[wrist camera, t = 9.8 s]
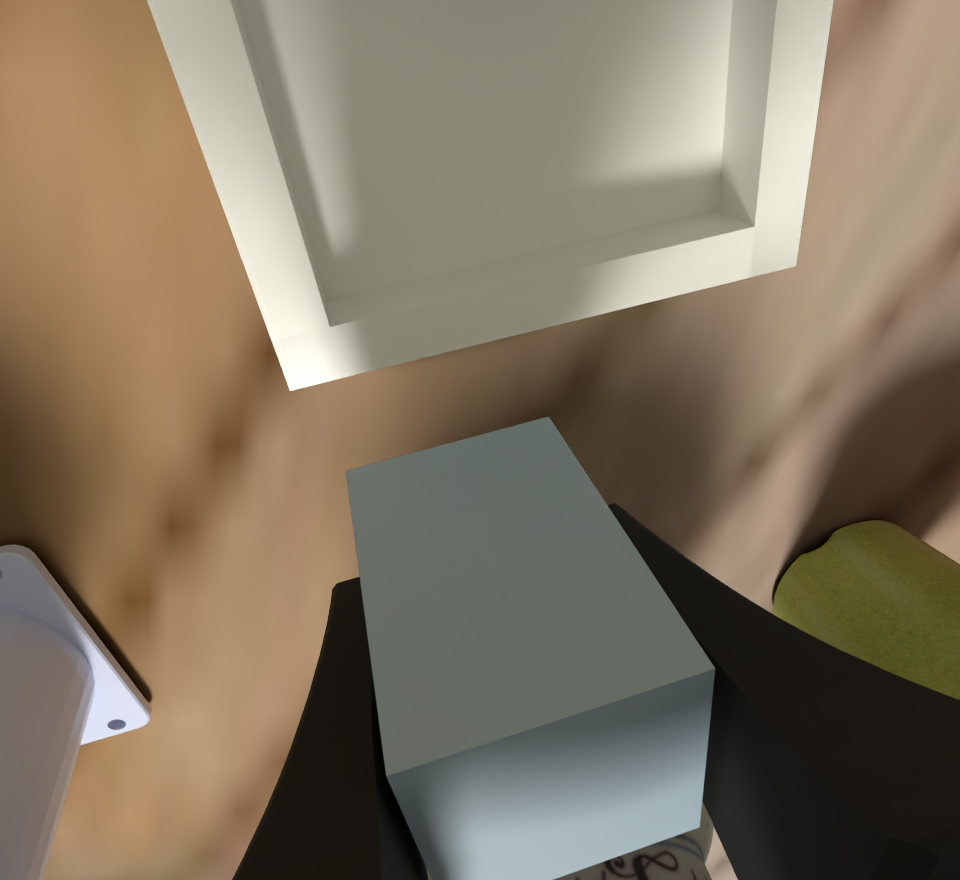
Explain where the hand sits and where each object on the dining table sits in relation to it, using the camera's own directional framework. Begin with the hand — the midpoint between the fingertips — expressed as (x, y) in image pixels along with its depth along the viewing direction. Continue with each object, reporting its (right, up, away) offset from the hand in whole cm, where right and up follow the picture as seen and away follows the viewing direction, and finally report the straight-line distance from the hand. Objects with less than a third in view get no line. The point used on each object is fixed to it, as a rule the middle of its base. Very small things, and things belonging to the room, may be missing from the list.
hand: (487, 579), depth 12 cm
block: (0, +1, +1) cm, 2 cm away
